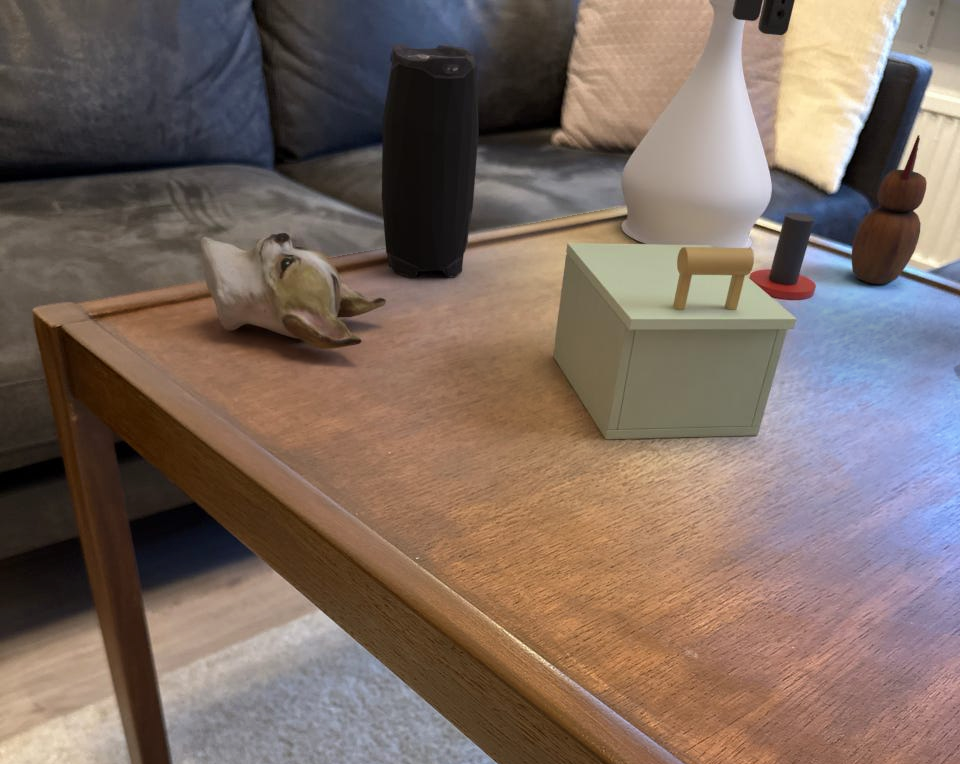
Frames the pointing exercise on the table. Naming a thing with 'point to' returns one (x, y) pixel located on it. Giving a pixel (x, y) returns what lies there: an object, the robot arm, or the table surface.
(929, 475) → the table surface
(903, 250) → the wooden figurine
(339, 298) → the ceramic sculpture
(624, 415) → the chest
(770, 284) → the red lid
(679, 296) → the chest lid
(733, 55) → the vase
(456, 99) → the portable speaker
